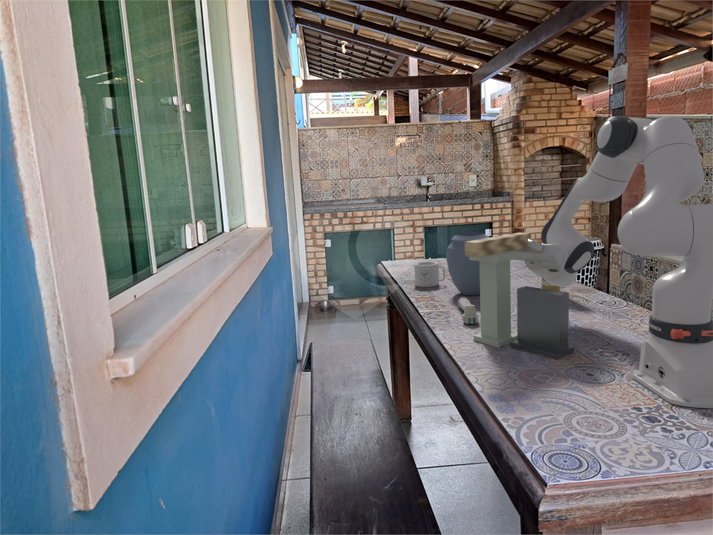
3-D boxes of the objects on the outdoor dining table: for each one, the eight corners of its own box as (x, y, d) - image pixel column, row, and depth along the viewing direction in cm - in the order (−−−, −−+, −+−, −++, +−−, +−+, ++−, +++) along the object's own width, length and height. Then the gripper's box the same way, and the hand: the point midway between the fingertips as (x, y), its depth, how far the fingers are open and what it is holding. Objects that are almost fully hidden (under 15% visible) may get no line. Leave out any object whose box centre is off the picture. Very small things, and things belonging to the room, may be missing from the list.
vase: (437, 294, 211) (435, 235, 207) (467, 286, 223) (465, 230, 219) (476, 301, 196) (474, 238, 192) (505, 292, 208) (505, 232, 204)
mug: (413, 287, 228) (412, 265, 226) (417, 282, 238) (416, 261, 236) (443, 287, 224) (442, 265, 222) (446, 282, 234) (446, 261, 232)
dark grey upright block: (529, 340, 148) (528, 284, 145) (574, 352, 136) (575, 291, 133) (511, 347, 143) (510, 289, 140) (556, 359, 132) (557, 297, 129)
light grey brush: (469, 296, 190) (479, 303, 165) (470, 313, 190) (480, 323, 165) (455, 296, 190) (462, 303, 166) (455, 314, 191) (463, 324, 166)
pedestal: (493, 333, 157) (492, 248, 152) (521, 340, 149) (520, 251, 144) (471, 340, 151) (469, 253, 146) (498, 348, 143) (497, 255, 138)
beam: (519, 245, 155) (519, 232, 154) (530, 246, 152) (530, 233, 151) (465, 256, 141) (464, 241, 141) (476, 257, 138) (475, 242, 137)
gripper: (515, 247, 167) (490, 230, 159) (573, 252, 151) (549, 233, 143) (509, 265, 166) (484, 248, 158) (567, 272, 150) (542, 254, 142)
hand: (515, 241), depth 150 cm, fingers open, 8 cm apart
